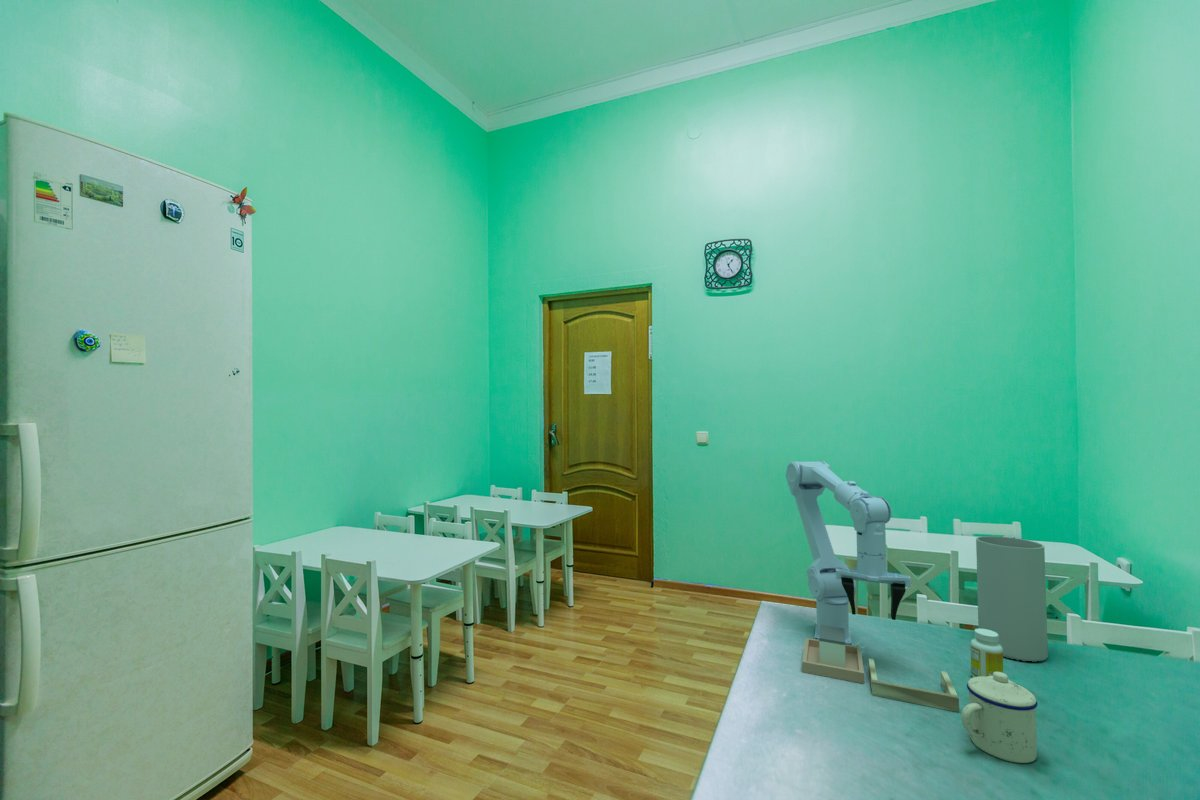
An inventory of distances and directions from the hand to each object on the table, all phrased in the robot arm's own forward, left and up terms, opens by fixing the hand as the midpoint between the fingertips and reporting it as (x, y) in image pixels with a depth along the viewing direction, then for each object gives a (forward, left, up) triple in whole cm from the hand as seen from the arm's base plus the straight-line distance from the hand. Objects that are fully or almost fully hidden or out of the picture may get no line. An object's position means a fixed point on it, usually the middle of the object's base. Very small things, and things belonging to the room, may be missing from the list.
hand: (873, 615), depth 113 cm
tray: (+4, -8, -10) cm, 14 cm away
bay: (+9, +6, -10) cm, 15 cm away
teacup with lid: (+25, +16, -11) cm, 31 cm away
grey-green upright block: (+4, -8, -10) cm, 13 cm away
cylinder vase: (-21, +30, -11) cm, 38 cm away
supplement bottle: (-2, +21, -11) cm, 23 cm away
